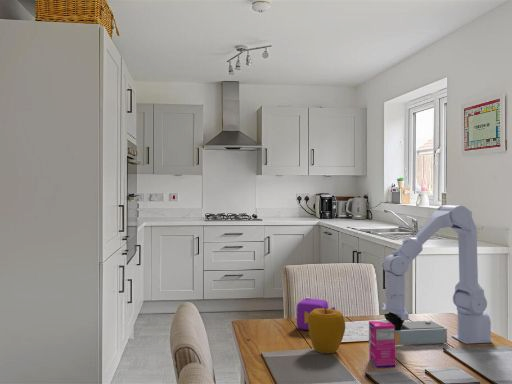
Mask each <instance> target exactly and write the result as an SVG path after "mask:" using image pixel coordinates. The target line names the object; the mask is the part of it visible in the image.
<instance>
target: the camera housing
mask: <svg viewBox="0 0 512 384" xmlns="http://www.w3.org/2000/svg"><path fill="white" fill-rule="evenodd" d="M438 328H445V327H444V326H443V325H441V324H438V323H436V322H435V321H432V320H415V321H412V320H411V321H404V322H403V324H402V327H401V330H414V329H438ZM433 344H438V343H428V344H427V345H433ZM408 345H409V346H410V345H413V346H414V345H415V346H416V345H417V344H408Z"/></svg>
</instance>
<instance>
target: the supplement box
mask: <svg viewBox="0 0 512 384" xmlns="http://www.w3.org/2000/svg"><path fill="white" fill-rule="evenodd" d="M368 360H369V362H370V363H371V364H372V365H373V367H374V368H375V369H379V368H380V369H382V368H383V369H385V368H386V369H387V368H396V365H397V364H396V345H395V326H394V325H393V324H392V323H390V322H389V321H388V320H386V319H382V320H368Z"/></svg>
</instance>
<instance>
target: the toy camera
mask: <svg viewBox="0 0 512 384" xmlns="http://www.w3.org/2000/svg"><path fill="white" fill-rule="evenodd" d="M317 308H323V309H324V308H326V309H329V303H328V301H327V300H325V299H320V298H319V299H315V298H311V297H310V296H306V297H305V298H304V299H302V300H300V301H299V302H298V303H297V305H296V326H297V328H298V330H299V329H300V330H303V331H304V330H305V331H309V327H308V316H309V314H310V312H312V311H313V310H314V309H317ZM330 309H333V310H336V307H334V306H333V307H330Z"/></svg>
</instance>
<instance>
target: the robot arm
mask: <svg viewBox="0 0 512 384" xmlns="http://www.w3.org/2000/svg"><path fill="white" fill-rule="evenodd" d="M444 228H451V229H452V230H453V231H455V233H457V236H458V238H457V239H458V272H459V274H458V277H459V279H458V280H459V281H458V282H457V283H456V284H455V286H454V293H453V296H452V302H453V305H455V307H456V311H457V312H456V313H457V314H456V315H457V317H456V318H457V323H456V324H457V327H456V328H457V332H456V333H457V334H451V338H454V339H456V340H457V341H459V342H461V343H464V344H466V345H467V344H482V343H483V344H485V343H486V344H487V343H493V340H492V335H491V334H492V327H491V326H492V324H491V323H492V322H491V318H490V315H489V314H488V313H487V312H485V311H486V309H487V308H488V307H487V306H488V301H487V299H486V296H485V290H484V288H483V287H482V286H481V285H480V283H479V277H478V276H479V275H478V273H479V272H478V271H479V267H478V236H477V235H478V231H477V230H478V229H477V225H476V223H475V221H474V219H473V213H472V211H471V209H469V208H467V207H466V206H464V205H461V204H460V205H449V204H442V205H440V206H439V207H438V208H437V209H436V210H435V211H434V212H432V215H431V217H430V218H429V220H427V221H426V223H425V224H424V225H423V226H422V227H421V228H420V229H419V231H418V232H417V233H416V234H415V235H414V237H407V238H404V239H403V240H402V244H401V245H400V246H398V248H396V249H395V250H393V251H392V254H389V255H387V256H386V257H385V258H384V259H383V262H382V263H381V267H382V269H383V270H384V272H385V302H382V307H381V311H383V312H388V313H385V314H383V317H384V318H385V320H388V321H389V322H390V323H392V324H393V325H394V326H395V330H401V327H402V324H403V322H406V321H409V320H410V319H409V313H408V311H407V310H406V308H405V306H406V305H405V304H406V303H405V300H406V299H405V286H406V285H405V278H406V277H405V276H406V275H405V274H406V273H407V272H408V271H409V267H410V264H411V263H412V262H413V261H414V260H415V259H416V258H417V257H418V256H419V255H420V253H422V251H423V245H424V244H425V243H426V242H427V241H428V240H429V239H431V238H432V236H434V235H435V234H436V233H437V232H438V231H440V229H444Z"/></svg>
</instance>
